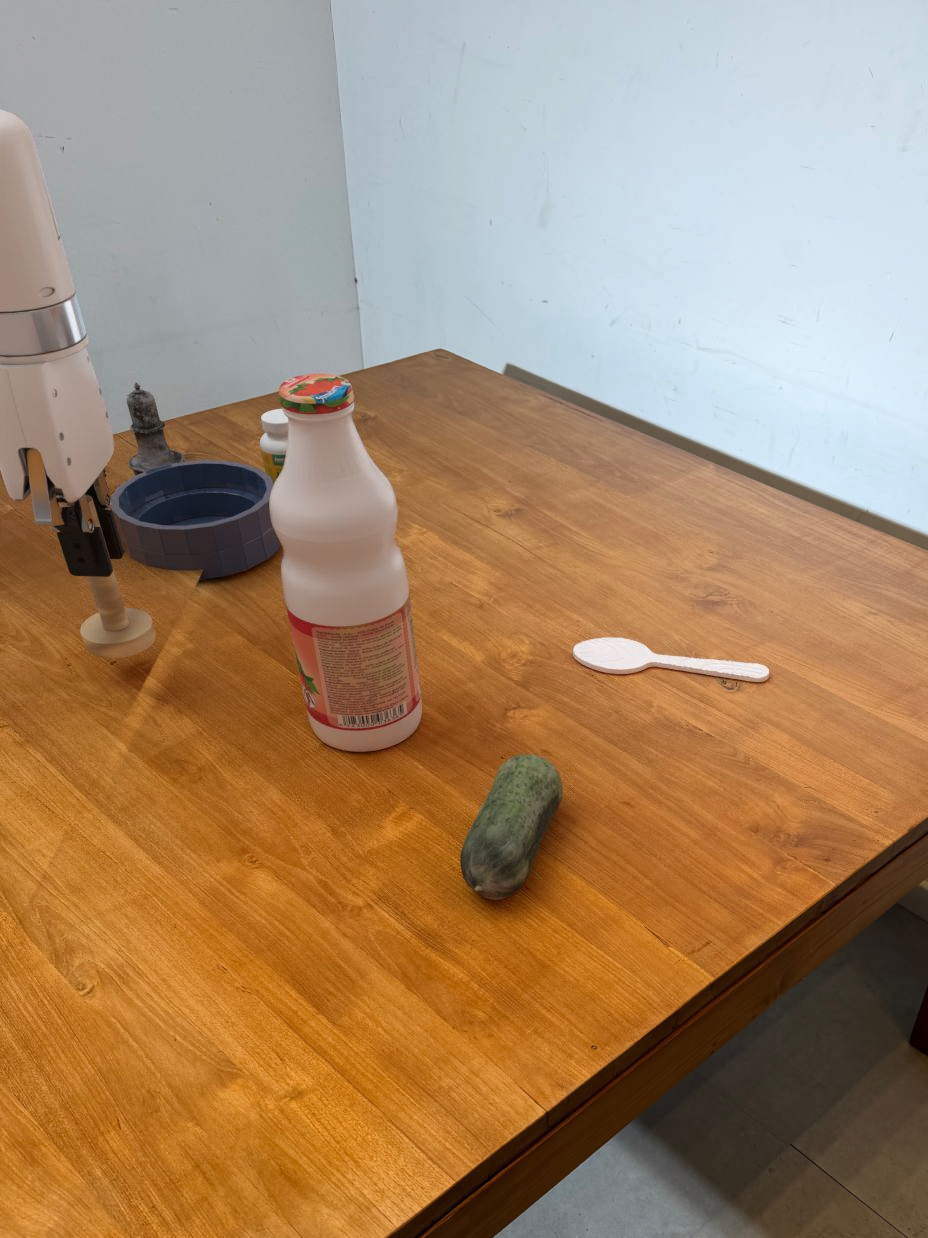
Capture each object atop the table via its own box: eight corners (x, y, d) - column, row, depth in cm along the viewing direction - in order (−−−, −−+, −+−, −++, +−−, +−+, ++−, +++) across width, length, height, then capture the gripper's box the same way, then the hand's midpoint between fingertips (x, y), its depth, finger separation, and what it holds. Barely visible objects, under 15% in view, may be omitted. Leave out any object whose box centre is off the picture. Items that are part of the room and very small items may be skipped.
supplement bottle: (314, 487, 127) (300, 402, 121) (326, 507, 124) (312, 421, 117) (266, 495, 126) (249, 410, 119) (277, 515, 122) (260, 428, 116)
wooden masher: (75, 658, 92) (26, 515, 83) (97, 621, 96) (53, 482, 87) (145, 659, 92) (103, 518, 83) (164, 623, 96) (127, 484, 88)
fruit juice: (384, 767, 90) (332, 422, 71) (286, 736, 93) (212, 396, 74) (444, 706, 97) (412, 374, 78) (352, 678, 99) (299, 352, 81)
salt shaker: (126, 499, 124) (94, 389, 116) (154, 477, 128) (126, 369, 120) (174, 505, 123) (145, 395, 115) (201, 483, 127) (176, 376, 119)
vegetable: (506, 787, 89) (503, 736, 85) (569, 797, 88) (569, 746, 85) (446, 909, 78) (440, 857, 75) (517, 922, 78) (515, 870, 74)
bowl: (106, 584, 110) (88, 527, 106) (152, 512, 122) (138, 458, 118) (266, 586, 111) (254, 530, 107) (297, 514, 122) (288, 461, 118)
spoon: (766, 692, 99) (766, 687, 99) (566, 667, 101) (566, 662, 101) (771, 660, 103) (772, 655, 103) (579, 636, 105) (579, 631, 105)
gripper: (12, 285, 83) (83, 518, 95) (-84, 364, 71) (11, 618, 83) (116, 289, 83) (173, 520, 95) (37, 368, 71) (114, 620, 83)
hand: (97, 564), depth 89 cm, fingers closed on wooden masher
